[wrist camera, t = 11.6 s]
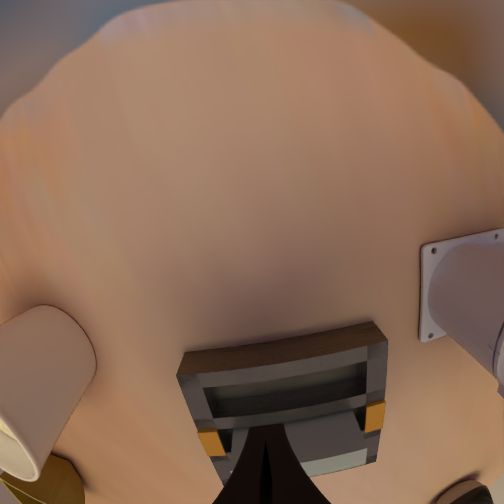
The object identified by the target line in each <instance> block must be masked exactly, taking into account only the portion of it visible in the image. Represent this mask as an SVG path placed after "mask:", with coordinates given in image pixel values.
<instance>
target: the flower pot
mask: <svg viewBox="0 0 504 504" xmlns="http://www.w3.org/2000/svg"><path fill="white" fill-rule="evenodd" d="M0 481H1V482H2V483H3V484H4V485H5V487H6V488H7V489H8V490H9V491H10V492H11V493H12V495H13V496H14V497H15V498H16V499H17V500H18V501H19V502H20V503H21V504H85V494H84V488H83V483H82V480H81V479H80V477H79V476H78V474H77V472H76V471H75V469H74V468H73V466H72V464H71V463H70V462H69V461H67V460H64V459H62V458H59V457H57V456H54V455H52V454H50V455H49V457H48V459H47V460H46V462H45V464H44V466H43V468H42V471H41V474H40V477H39V478H38V479H37V480H36V481H33V482H29V481H24V480H21V479H19V478H16V477H14V476H12V475H11V474H9V473H7V472H6V471H4V472H3V473H2V474H1V475H0Z"/></svg>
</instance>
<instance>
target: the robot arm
mask: <svg viewBox="0 0 504 504" xmlns="http://www.w3.org/2000/svg"><path fill="white" fill-rule="evenodd" d="M494 237H495V238H494ZM432 248H434V251H433V253H431V250H432ZM430 333H431V335H430V336H428V335H429V334H430ZM445 335H449V336H450V337H452V338H453V339H454V340H455V341H456V342H457V343H458V344H459V345H461V346H462V347H463V348H464V349H465V350H466V351H467V352H468V353H469V354H470V355H471V356H473V357H474V358H475V359H476V360H477V361H478V362H479V363H480V364H481V365H482V366H483V367H484V368H485V369H486V370H487V371H489V372H490V373H491V374H492V375H493V376H494V377H495V378H496V379H497V380H498V382H499V387H498V391H497V392H498V393H499V394H500V395H501V396H502V397H503V398H504V229H502V228H500V229H495V230H491V231H486V232H482V233H477V234H473V235H468V236H463V237H459V238H454V239H449V240H444V241H439V242H435V243H430V244H425V245H424V246H423V247H422V249H421V307H420V326H419V340H420V341H421V342H423V343H424V342H428V341H431V340H434V339H437V338H440V337H443V336H445ZM212 504H331V503H330V502H329V501H328V500H327V499H326V498H325V496H324V495H323V494H322V493H321V492H320V491H319V489H318V488H317V487H316V486H315V485H314V483H313V482H312V481H311V479H310V478H309V476H308V475H307V473H306V472H305V470H304V469H303V467H302V466H301V464H300V462H299V461H298V459H297V457H296V455H295V453H294V451H293V449H292V447H291V445H290V443H289V440H288V438H287V435H286V431H285V426H284V424H282V423H279V424H271V425H264V426H255V427H250V428H249V430H248V434H247V438H246V441H245V444H244V447H243V449H242V452H241V454H240V457H239V459H238V461H237V463H236V466H235V468H234V470H233V472H232V473H231V475H230V477H229V479H228V481H227V483H226V484H225V486H224V487H223V489H222V491H221V492H220V494H219V495H218V497H217V498H216V499H215V501H214V502H213V503H212Z"/></svg>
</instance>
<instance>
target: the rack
mask: <svg viewBox="0 0 504 504" xmlns="http://www.w3.org/2000/svg"><path fill="white" fill-rule="evenodd" d="M387 357H388V339H387V338H386V337H385V336H384V334H383V333H382V332H381V330H380V329H379V328H378V327H377V325H376V324H375V323H374V322H373V321H371V322H367V323H362V324H358V325H354V326H349V327H345V328H340V329H335V330H330V331H325V332H320V333H315V334H310V335H305V336H299V337H294V338H288V339H282V340H276V341H270V342H263V343H257V344H250V345H243V346H236V347H228V348H220V349H212V350H203V351H193V352H185V353H184V356H183V358H182V361H181V364H180V366H179V369H178V371H177V374H176V377H177V379H178V382H179V385H180V387H181V390H182V393H183V395H184V398H185V400H186V403H187V405H188V408H189V410H190V413H191V415H192V418H193V420H194V423H195V425H196V427H197V430H198V431H197V434H198V436H199V438H200V440H201V443H202V445H203V447H204V449H205V451H206V454H207V456H209V457H210V459H211V461H212V463H213V465H214V467H215V469H216V471H217V473H218V475H219V477H220V479H221V481H222V483H223V485H224V486H225V484H226V483H227V481H228V479H229V477H230V475H231V472H230V463H231V450H232V437H233V428H240V427H250V426H259V425H267V424H275V423H281V422H288V421H294V420H300V419H306V418H311V417H316V416H321V415H326V414H331V413H335V412H340V411H344V410H348V409H352V410H353V413H354V415H355V418H356V420H357V423H358V425H359V428H360V430H361V433H362V436H363V438H364V441H365V443H366V446H367V455H366V463H365V464H369V463H372V462H376V458H377V452H378V446H379V439H380V432H381V428H383V421H384V413H385V404H386V402H385V400H384V398H385V387H386V374H387ZM365 464H363V465H365ZM360 466H362V465H360ZM356 467H358V466H356ZM352 468H354V467H352ZM348 469H350V468H348ZM344 470H346V469H344ZM340 471H342V470H340ZM336 472H338V471H336ZM331 473H333V472H331ZM326 474H328V473H326ZM321 475H323V474H321ZM316 476H318V475H316ZM311 477H313V476H311Z"/></svg>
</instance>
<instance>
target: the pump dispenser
mask: <svg viewBox="0 0 504 504" xmlns="http://www.w3.org/2000/svg"><path fill="white" fill-rule="evenodd" d="M436 504H494V503H493V500H492V497H491V494H490V492H489V490H488V488H487V486H486V485H483V484H481V483H480V482H478V481H475V480H468V481H464V482H461V483H458V484H457V485H455V486H453V487H452V488H450V489H449V490H447V491H446V492H445V493H444V494H443V495H442V496H441V497H440V498H439V499H438V501H437V503H436Z"/></svg>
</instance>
